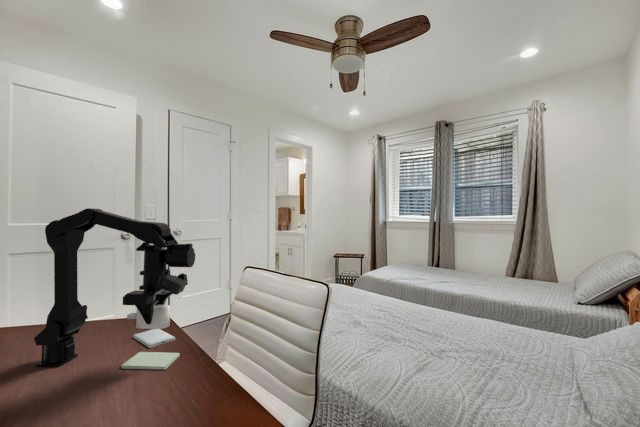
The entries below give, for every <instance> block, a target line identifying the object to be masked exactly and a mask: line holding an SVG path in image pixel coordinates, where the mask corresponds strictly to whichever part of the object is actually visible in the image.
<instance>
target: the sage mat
mask: <svg viewBox="0 0 640 427" xmlns="http://www.w3.org/2000/svg"><path fill="white" fill-rule="evenodd" d="M180 354H181V353H180V352H160V351H159V352H158V351H157V352H155V351H139V352H137V353H136V354H135V355H134V356H132V357H131V358H129V359H128V360H127V361H125V362H123V364H121V369H124V370H125V369H126V370H128V369H129V370H132V369H133V370H137V369H138V370H164V371H165V370H166V369H168V368H169V367H170V366H171V365H172V364H173V363H174V362H175V361H176V360H177V359H178V358H179V357H180Z"/></svg>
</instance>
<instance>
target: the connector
mask: <svg viewBox="0 0 640 427" xmlns="http://www.w3.org/2000/svg"><path fill="white" fill-rule="evenodd" d="M126 319H127V320H136V323H135V325H136V326H135V328H136V329H144V330H145V329H149V330H152V329H160V330H162V329H166V328H168V327H169V328H170V326H171V305H170V304H164V305H154V309H153V316H152V321H151V324H146V322H145V321H144V319H143V317H142V315H141V313H140V312H139V310H138V309H137V308H136V312H131V313H128V314H127V315H126Z"/></svg>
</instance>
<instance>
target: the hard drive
mask: <svg viewBox="0 0 640 427" xmlns="http://www.w3.org/2000/svg"><path fill="white" fill-rule="evenodd" d="M132 338H133V339H135V340H136V341H138V342H139V343H141V344H142V345H144V346H145V347H147V348H149V349H152V348H154V347H157V345H158V346H161V345H164V344H167V343H170V342H173V341H176V337H175V336H173V335H171V333H168V332H166V331H164V330H162V329H149V330H145V331H142V332H138V333H135V334H133V336H132ZM172 340H173V341H172ZM169 341H170V342H169ZM166 342H167V343H166ZM163 343H164V344H163ZM160 344H161V345H160Z"/></svg>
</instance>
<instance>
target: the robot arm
mask: <svg viewBox="0 0 640 427" xmlns="http://www.w3.org/2000/svg"><path fill="white" fill-rule="evenodd" d="M96 225H98V226H102V227H105V228H109V229H113V230H116V231H119V232H123V233H128V234H130V235H131V236H134V237H135V238H136V239H137V240H140V241H141V242H142V244H141V245H139V246H138V247H136V248H135V250H136V252H143V270H141V271H139V276H143V277H142V285H140V286H139V287H138V288H139V289H138V290H133V291H129V292H127V293H126V294H124V295H123V297H122V306H135V308H136V310H137V309H138V310H139V312H140V313H141V315H142V317H143V319H144V321H145V322H146V324H151V321H152V316H153V309H154V305H166V301H167V299H168V298H170V297H171V295H179V294H180V293H182V292H184V291H185V287H186V286H188V284H189V283H188V281H189V280H188V275H187V274H186V273H183V272H182V273H180V274H178V275H173V274H171V270H170V268H192V267H193V266H194V264H195V262H196V253H195V249H194V247H193V243H179V242H178V240H176V238H175V237H174V235H173V234H172V230H171V228H170V226H169V225H168V224H167V223H165V222H157V221H145V220H144V221H143V220H137V219H133V218H131V217H127V216H123V215H119V214H115V213H112V212H108V211H104V210H102V209H100V208H85V209H82V210H81V211H78V212H76V213H73V214H70V215H68V216H65V217H63V218H60V219H57V220H56V219H55V220H52V221H51V222H50V223H48V224H47V225H45V228H44V229H45V230H44V235H45V239H46V243H47V245H48V246H49V248H50V249H51V250H52V251H53V259H54V260H53V265H54V267H53V270H54V271H53V272H54V275H53V276H54V277H53V278H54V280H53V282H54V286H53V287H54V290H53V291H54V293H53V294H54V298H53V299H54V304H53V306H52V307H51V309H50V311H49V313H48V315H47V317H46V323H45V327H44V329H43V328H42V330H41V331H40V332H39V333H38V334H37V335H35V336H34V338H33V339H34V342H35V345H36V346H41V357H40V358H41V360H40V361H38V362H36V363H35V367H57V368H58V367H61V366H63V365H64V364H65V363H67V362H69V361H71V360H73V359H75V358H76V357H78V355H79V354H78V353H75V350H76V342H75V337H74V335H77V334H79V333H80V331H81V328H82V327H83V326H84V325H85V323H86V320H87V319H88V318H89V317H88V313H87V311H88V305H86V304H84V305H83V304H81V303H80V301H79V298H78V250H79V249H80V247H81V245H82V244H83V242H84V238H85V233H86V232H88V231H90V230H91V229H94V227H95V226H96ZM167 265H168V267H170V268H167Z"/></svg>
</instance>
